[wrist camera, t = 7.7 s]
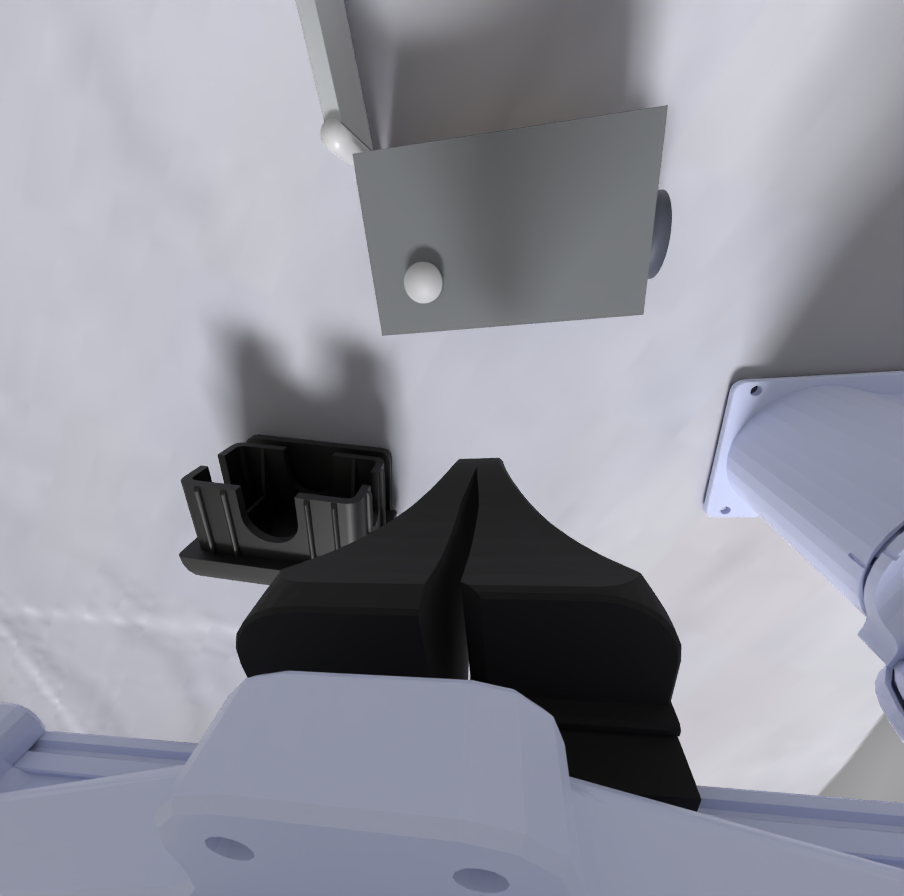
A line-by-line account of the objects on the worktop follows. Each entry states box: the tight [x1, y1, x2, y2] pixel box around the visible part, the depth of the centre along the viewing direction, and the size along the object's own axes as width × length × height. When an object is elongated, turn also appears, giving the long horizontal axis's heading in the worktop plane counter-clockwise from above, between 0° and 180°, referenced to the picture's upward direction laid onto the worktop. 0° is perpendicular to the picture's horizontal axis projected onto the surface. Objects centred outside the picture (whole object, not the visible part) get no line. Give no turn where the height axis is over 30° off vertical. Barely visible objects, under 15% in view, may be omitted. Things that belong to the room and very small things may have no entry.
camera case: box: [352, 105, 672, 336], centre depth 15 cm, size 11×6×5 cm, turn 95°
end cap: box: [179, 435, 397, 585], centre depth 21 cm, size 10×7×7 cm
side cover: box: [296, 0, 374, 168], centre depth 13 cm, size 9×1×4 cm, turn 9°
